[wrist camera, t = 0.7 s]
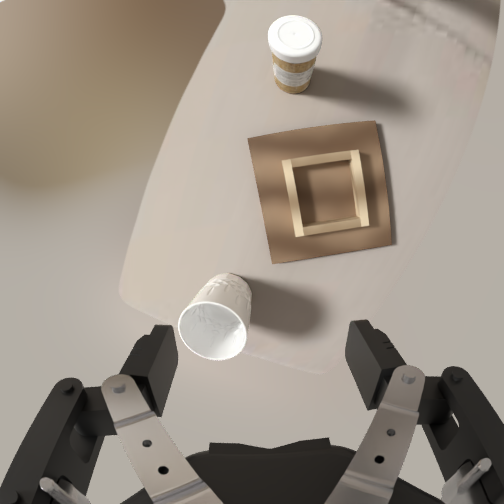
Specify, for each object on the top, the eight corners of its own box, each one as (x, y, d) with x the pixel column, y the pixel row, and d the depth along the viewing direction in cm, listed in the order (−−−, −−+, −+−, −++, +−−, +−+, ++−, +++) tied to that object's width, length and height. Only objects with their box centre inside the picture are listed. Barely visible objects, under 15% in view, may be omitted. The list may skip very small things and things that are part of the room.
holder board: (248, 139, 33) (245, 136, 30) (372, 121, 31) (380, 118, 28) (272, 261, 38) (271, 269, 35) (388, 242, 35) (397, 249, 32)
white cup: (192, 279, 40) (166, 312, 30) (242, 260, 38) (228, 292, 29) (215, 324, 42) (197, 366, 32) (264, 310, 40) (258, 352, 31)
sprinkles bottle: (286, 57, 30) (286, 6, 17) (317, 75, 30) (333, 30, 17) (267, 83, 31) (256, 40, 18) (298, 101, 31) (304, 65, 19)
